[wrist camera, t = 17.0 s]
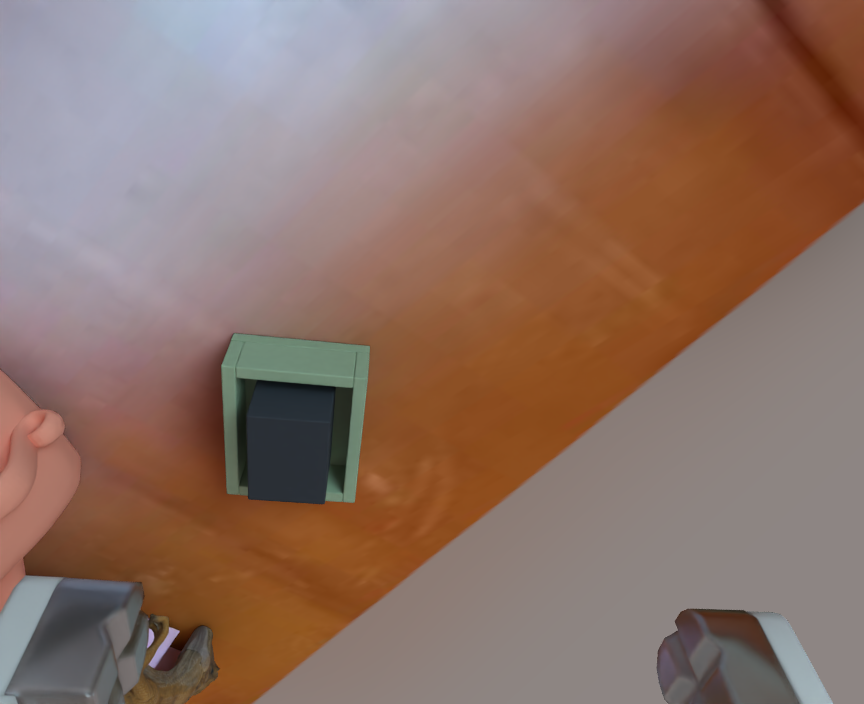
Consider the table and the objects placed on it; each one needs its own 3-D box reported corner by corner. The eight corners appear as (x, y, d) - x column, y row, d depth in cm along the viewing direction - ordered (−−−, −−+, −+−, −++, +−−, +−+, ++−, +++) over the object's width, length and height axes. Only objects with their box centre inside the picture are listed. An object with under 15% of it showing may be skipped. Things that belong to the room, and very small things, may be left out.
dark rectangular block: (260, 447, 33) (247, 499, 30) (260, 367, 30) (245, 415, 28) (331, 453, 34) (324, 505, 31) (337, 373, 31) (330, 422, 28)
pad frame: (237, 457, 34) (226, 494, 32) (233, 332, 30) (220, 365, 28) (357, 466, 35) (354, 503, 33) (370, 345, 31) (367, 379, 29)
